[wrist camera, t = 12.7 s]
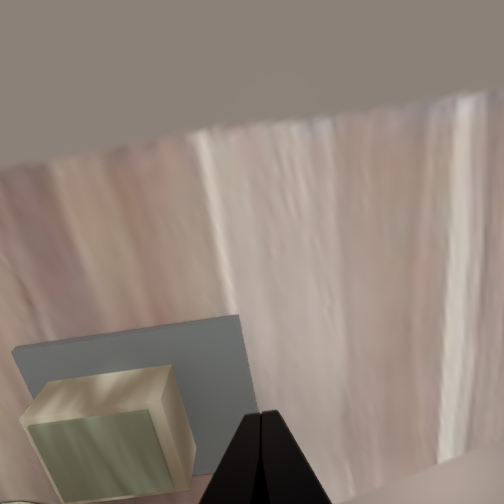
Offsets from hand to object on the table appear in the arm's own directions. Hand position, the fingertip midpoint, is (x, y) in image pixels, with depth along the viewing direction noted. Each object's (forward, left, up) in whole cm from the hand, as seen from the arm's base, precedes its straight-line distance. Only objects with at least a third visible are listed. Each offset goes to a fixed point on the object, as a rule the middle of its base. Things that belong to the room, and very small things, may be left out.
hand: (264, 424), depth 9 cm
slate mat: (+9, +10, -12) cm, 18 cm away
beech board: (+6, +10, -10) cm, 15 cm away
